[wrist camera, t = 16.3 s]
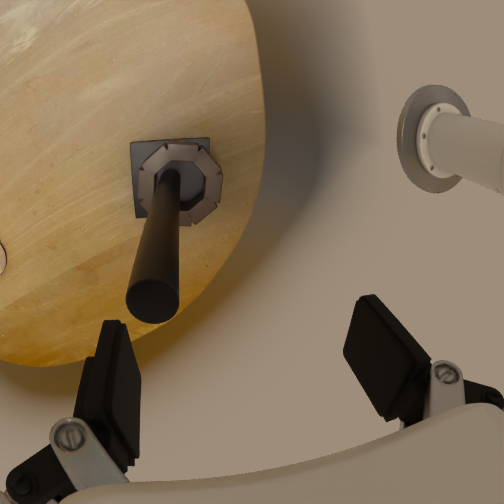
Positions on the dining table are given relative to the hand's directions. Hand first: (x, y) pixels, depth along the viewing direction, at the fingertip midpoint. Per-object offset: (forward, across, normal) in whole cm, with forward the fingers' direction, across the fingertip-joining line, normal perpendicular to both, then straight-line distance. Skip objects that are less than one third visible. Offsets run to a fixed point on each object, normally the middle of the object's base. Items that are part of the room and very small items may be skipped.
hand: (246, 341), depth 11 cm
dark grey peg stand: (+28, +4, 0) cm, 28 cm away
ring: (+27, +2, 0) cm, 27 cm away
